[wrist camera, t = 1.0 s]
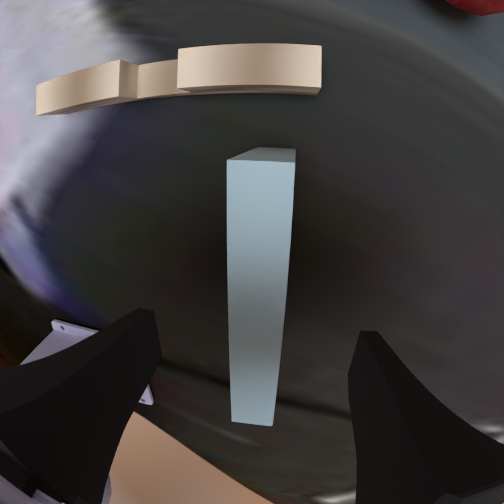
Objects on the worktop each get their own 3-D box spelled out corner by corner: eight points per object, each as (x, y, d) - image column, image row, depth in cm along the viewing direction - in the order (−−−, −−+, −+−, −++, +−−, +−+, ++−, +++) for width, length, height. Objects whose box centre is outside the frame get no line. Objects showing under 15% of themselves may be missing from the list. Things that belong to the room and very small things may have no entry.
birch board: (66, 113, 16) (36, 115, 13) (66, 86, 15) (36, 85, 13) (316, 95, 14) (320, 87, 11) (317, 60, 13) (321, 46, 11)
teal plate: (253, 333, 20) (231, 421, 13) (258, 147, 16) (226, 159, 9) (282, 336, 20) (272, 426, 13) (295, 148, 15) (295, 162, 9)
